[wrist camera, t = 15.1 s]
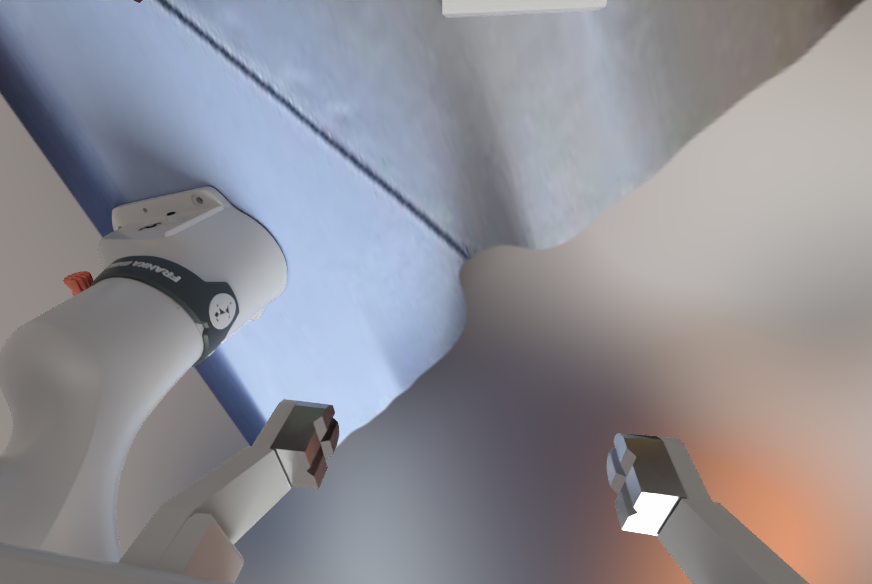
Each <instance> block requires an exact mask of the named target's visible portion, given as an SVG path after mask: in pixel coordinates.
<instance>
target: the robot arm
mask: <svg viewBox="0 0 872 584" xmlns="http://www.w3.org/2000/svg"><path fill="white" fill-rule="evenodd" d="M200 198H201V199H202V200H203V201H202V200H201V199H200ZM112 224H113V229H114V232H112V233H110V234H108V235H106V236H104V237H103V238H102V239H101V240H100V242H99V245H98V252H99V258H100V261H101V264H102V266H103V269H104V271H103V272H102V273H101V274H100V275H99V276H98V277H97V278H96V279H95V280H94V281H93V278H92V276H91V274H90V273H89V272H86V271H83V272H78V273H74V274H72V275H69V276H67V277H65V278H64V280H63V281H64V283H65V284H66V285H67V286H68V287H69V288H70V289H71V290H72V293H73V295H74V296H73V297H72V298H70V299H68V300H66V301H65V302H63V303H61V304H59V305H57V306H56V307H54V308H52V309H51V310H49V311H47V312H45V313H43V314H42V315H40V316H38V317H36V318H35V319H33V320H31V321H29V322H28V323H26V324H24V325H22V326H21V327H19V328H18V329H17V330H16V331H15V332H13V333H12V335H11V336H10V337H9V338H8V339H7V341H6V342H5V344H4V345H3V347H2V349H1V352H0V387H1V390H2V392H3V395H4V397H5V399H6V401H7V403H8V406H9V408H10V411H11V414H12V418H13V430H12V434H11V438H10V441H9V443H8V445H7V447H6V449H5V450H4V452H3V453H2V454H1V456H0V584H237V583H234V582H235V580H236V578H237V576H238V574H239V572H240V570H241V568H242V566H243V563H244V562H243V557H242V556H241V554H240V553H239V552H238V550H237V549H236V548H235V546H234V545H233V544H234V543H235V542H236V541H238V540H239V538H240V537H242V535H244V534H245V533H246V532H247V531H248V530H249V529H250V528H251V527H252V526H253V525H254V524H255V523H256V522H257V521H258V520H259V519H260V518H261V517H262V516H263V515H264V514H265V513H266V512H267V511H268V510H269V509H270V508H272V507H273V506H274V504H276V503H277V502H278V501H279V500H280V499H281V498H282V497H283V496H284V495H285V494H286V493H287V492H288V491H289V490H290V489H291V487H299V488H309V489H319V488H320V485H321V483H322V480H323V478H324V476H325V473H326V471H327V468H328V466H327V463H326V459H327V458H328V457H330V456H331V455H332V454H334V451H335V449H336V446H337V443H338V438H339V425H338V422H337V421H336V420H335V419H334V418H333V416H334V414H335V411H334V408H333V405H328V404H319V403H311V402H303V401H295V400H285V399H284V400H283V401H281V402H280V403H279V404H278V406H277V407H276V409H275V410H274V412H273V413H272V415H271V417H270V418H269V420H268V421H267V423H266V425H265V426H264V428H263V429H262V431H261V432H260V434H259V436H258V437H257V439H256V440H255V442H254V444H253V445H252V447H249V446H247V447H245V448H244V449H242V450H241V451H239V452H238V453H236V454H235V455H233V456H232V457H231V458H229V459H228V460H226V461H225V462H223V463H222V464H220V465H219V466H217V467H216V468H215V469H213V470H212V471H210V472H209V473H207V474H206V475H204V476H203V477H201V478H200V479H199V480H197V481H196V482H194V483H193V484H192V485H190V486H188V487H187V488H185V489H184V490H183V491H181V492H180V493H178V494H177V495H175V496H174V497H172V498H171V499H169V500H168V501H167V502H165V503H164V504H162V505H161V506H160V507H159V509H158V510H157V512H156V513H155V514H154V515H153V517H152V518H151V519H150V521H149V522H148V523H147V525H146V526H145V527H144V529H143V530H142V531H141V533H140V534H139V535H138V537H137V538H136V539H135V541H134V542H133V543H132V545H131V546H130V547H129V549H128V550H127V551H126V553H125V554H124V555H123V557H122V558H121V548H120V544H119V538H118V533H117V524H116V503H117V493H118V487H119V481H120V477H121V473H122V468H123V465H124V463H125V460H126V457H127V454H128V451H129V449H130V447H131V444H132V442H133V440H134V438H135V436H136V434H137V432H138V431H139V429H140V427H141V426H142V424H143V423H144V421H145V420H146V418H147V417H148V416H149V414H150V413H151V412H152V411H153V409H154V408H155V407H156V406H157V405H158V403H159V402H160V401H161V400H162V398H163V397H164V396H165V395H166V394H167V393H168V391H169V390H170V389H171V388H172V387H173V386H174V385H175V384H176V382H177V381H178V380H179V379H180V378H181V377H182V376H183V375H184V374H185V373H186V371H188V370H189V369H190V367H193V366H196V365H198V364H199V363H201V362H202V361H203V360H204V359H205V358H207V356H208V357H209V356H210V355H211V354H212V353H213V352H214V351H215V349H216V348H217V347H218V346H219V345H220V344H221V343H223V342H224V341H226V340H227V339H228V338H229V337H230V336H232V335H233V334H234V333H235V332H236V331H238V330H239V329H240V328H241V327H242V326H244V325H245V324H246V323H247V322H248V321H249V320H253V321H254V320H257V319H258V318H259V317H261V316H262V314H263V313H264V311H265V308H266V306H267V305H268V304H269V303H270V302H272V301H273V300H275V299H276V298H277V297H278V296H280V294H281V293H282V292H283V290H284V288H285V286H286V283H287V265H286V261H285V258H284V256H283V253H282V251H281V249H280V248H279V246H278V244H277V243H276V241H275V240H274V239H273V237H272V236H271V235H270V234H269V233H268V232H267V231H266V230H265V229H264V228H263V227H262V226H261V225H260V224H259V223H257V222H256V221H255V220H253V219H252V218H250V217H249V216H247V215H245V214H244V213H242V212H240V211H239V210H237V209H236V208H234V207H233V206H232V205H231V204H230V203H229V202H228V201H227V200H226V199H225V198H224V197H223V196H222V195H221V194H220V193H219V192H218V191H217V190H216V189H214V188H212V187H209V186H205V187H201V188H196V189H191V190H187V191H182V192H178V193H173V194H168V195H164V196H159V197H155V198H150V199H146V200H141V201H136V202H132V203H127V204H123V205H120V206H118V207H116V208H114V209H113V210H112ZM614 444H615V447H616V448H614V449H612V450H610V452H609V454H608V458H607V473H608V479H609V483H610V486H611V488H612V489H613V490H614V491H615V492H616V493H617V494H618V497H617V499H616V502H615V506H616V509H617V513H618V517H619V520H620V524H621V528H622V530H626V531H633V532H639V533H645V534H652V535H658V536H657V538H658V539H659V541H660V542H661V543H662V545H663V546H664V547H665V548H666V550H667V551H668V552H669V553H670V555H671V556H672V557H673V559H674V560H675V561H676V562H677V564H678V565H679V566H680V568H681V569H682V570H683V571H684V573H685V574H686V575H687V577H688V578H689V579H690V580H691V582H692V583H693V584H809V583H808V582H807V581H805V580H804V579H803V578H802V577H801V576H800V575H799V574H798V573H797V572H796V571H794V570H793V569H792V568H791V567H790V566H789V565H788V564H787V563H785V562H784V561H783V560H782V559H781V558H780V557H779V556H778V555H777V554H775V553H774V552H773V551H772V550H771V549H770V548H769V547H768V546H767V545H765V544H764V543H763V542H762V541H761V540H760V539H759V538H758V537H757V536H756V535H754V534H753V533H752V532H751V531H750V530H749V529H748V528H747V527H745V526H744V525H743V524H742V523H741V522H740V521H739V520H738V519H737V518H735V517H734V516H733V515H732V514H731V513H730V512H729V511H728V510H727V509H725V508H724V507H723V506H722V505H721V504H720V503H717V502H712V500H711V498H710V496H709V494H708V492H707V490H706V488H705V486H704V484H703V481H702V479H701V478H700V475H699V473H698V471H697V469H696V467H695V465H694V463H693V461H692V459H691V457H690V455H689V453H688V451H687V449H686V447H685V445H684V443H683V442H682V441H681V440H680V439H676V438H665V437H657V436H649V435H636V434H625V433H618V434H617V435H616V436H615V439H614Z"/></svg>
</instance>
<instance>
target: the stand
mask: <svg viewBox="0 0 872 584" xmlns="http://www.w3.org/2000/svg"><path fill="white" fill-rule="evenodd" d="M606 4H607V0H442V12H443V15H444V16H445V17H447V18H452V17H473V16H494V15H516V14H537V13H558V12H579V11H597V10H599V9H601V8H604V7H606Z"/></svg>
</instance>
